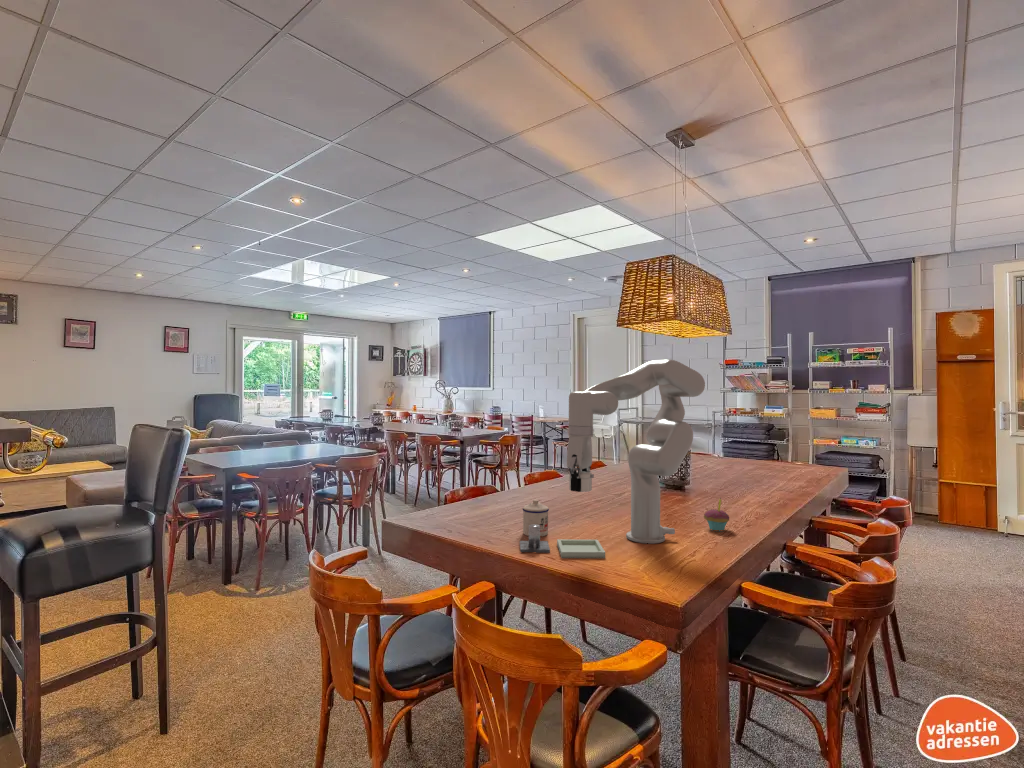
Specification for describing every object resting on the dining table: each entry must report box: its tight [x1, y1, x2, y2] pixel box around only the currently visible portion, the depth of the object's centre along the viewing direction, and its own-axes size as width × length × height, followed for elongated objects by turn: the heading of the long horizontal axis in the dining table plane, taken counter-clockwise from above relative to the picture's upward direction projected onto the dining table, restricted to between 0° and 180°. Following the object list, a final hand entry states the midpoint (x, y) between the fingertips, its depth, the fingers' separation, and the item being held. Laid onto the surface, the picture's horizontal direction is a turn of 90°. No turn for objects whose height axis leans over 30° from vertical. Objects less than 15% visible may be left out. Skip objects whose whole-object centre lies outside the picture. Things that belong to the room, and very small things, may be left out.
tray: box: [556, 538, 606, 559], centre depth 158 cm, size 13×13×2 cm
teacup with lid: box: [522, 499, 550, 537], centre depth 179 cm, size 12×9×12 cm
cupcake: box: [703, 497, 730, 532], centre depth 185 cm, size 9×8×12 cm
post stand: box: [519, 524, 551, 554], centre depth 161 cm, size 9×9×7 cm
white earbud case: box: [568, 471, 595, 493], centre depth 158 cm, size 7×8×5 cm
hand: (580, 488), depth 158 cm, fingers closed on white earbud case, 6 cm apart
